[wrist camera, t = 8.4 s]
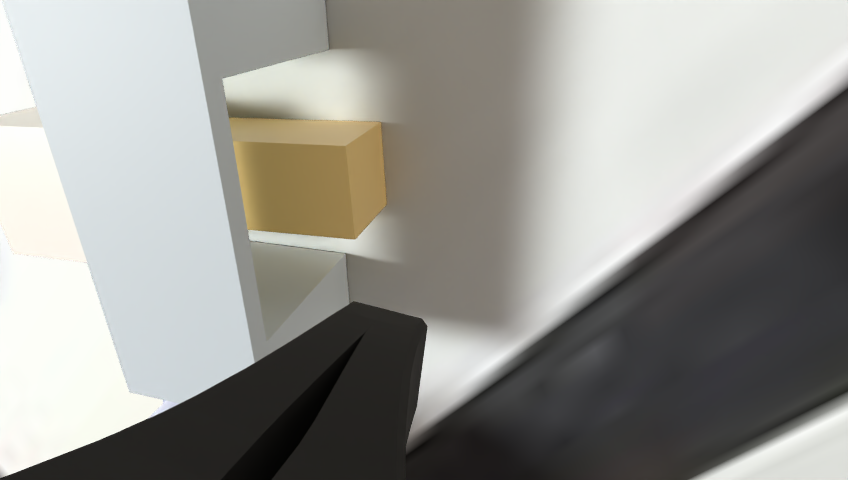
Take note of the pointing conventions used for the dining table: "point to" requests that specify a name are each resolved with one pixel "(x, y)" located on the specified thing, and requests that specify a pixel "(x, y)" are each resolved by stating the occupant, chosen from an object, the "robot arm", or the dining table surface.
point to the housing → (172, 178)
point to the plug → (257, 168)
